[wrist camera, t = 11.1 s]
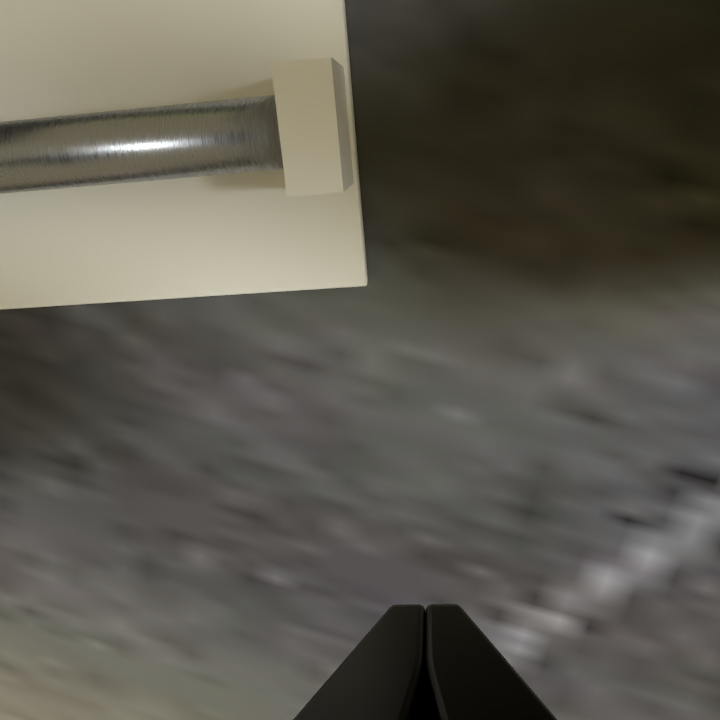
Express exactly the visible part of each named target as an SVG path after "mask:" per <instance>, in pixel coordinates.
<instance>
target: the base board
mask: <svg viewBox="0 0 720 720" xmlns="http://www.w3.org/2000/svg"><path fill="white" fill-rule="evenodd" d="M267 95H275V103H276V111H277V119H278V128H279V136H280V144H281V152H282V161H283V169H282V170H270V171H259V172H247V173H235V174H224V175H212V176H200V177H189V178H177V179H166V180H154V181H142V182H131V183H119V184H107V185H96V186H84V187H72V188H61V189H49V190H37V191H26V192H14V193H2V194H0V309H15V308H31V307H46V306H62V305H77V304H93V303H109V302H124V301H140V300H155V299H171V298H186V297H202V296H217V295H233V294H248V293H264V292H279V291H295V290H310V289H326V288H341V287H357V286H366V285H367V282H368V277H367V265H366V253H365V241H364V229H363V217H362V205H361V193H360V181H359V169H358V157H357V145H356V133H355V121H354V109H353V97H352V85H351V73H350V61H349V48H348V36H347V24H346V12H345V0H0V122H5V121H15V120H25V119H35V118H45V117H55V116H65V115H75V114H85V113H96V112H106V111H116V110H126V109H136V108H146V107H156V106H166V105H176V104H186V103H197V102H207V101H217V100H227V99H237V98H247V97H257V96H267Z"/></svg>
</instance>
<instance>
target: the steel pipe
mask: <svg viewBox="0 0 720 720" xmlns="http://www.w3.org/2000/svg"><path fill="white" fill-rule="evenodd" d="M282 169H283V161H282V152H281V144H280V136H279V128H278V119H277V111H276V103H275V95H267V96H257V97H247V98H237V99H227V100H217V101H207V102H197V103H186V104H176V105H166V106H156V107H146V108H136V109H126V110H116V111H106V112H96V113H85V114H75V115H65V116H55V117H45V118H35V119H25V120H15V121H5V122H0V194H2V193H14V192H26V191H37V190H49V189H61V188H72V187H84V186H96V185H107V184H119V183H131V182H142V181H154V180H166V179H177V178H189V177H200V176H212V175H224V174H235V173H247V172H259V171H270V170H282Z"/></svg>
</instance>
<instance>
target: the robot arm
mask: <svg viewBox="0 0 720 720" xmlns="http://www.w3.org/2000/svg"><path fill="white" fill-rule="evenodd" d="M293 720H557V719H556V718H555V716H554V715H553V714H552V713H551V712H550V711H549V709H548V708H547V707H546V706H545V705H544V704H543V702H542V701H541V700H540V699H539V698H538V697H537V695H536V694H535V693H534V692H533V691H532V690H531V688H530V687H529V686H528V685H527V684H526V683H525V681H524V680H523V679H522V678H521V677H520V676H519V674H518V673H517V672H516V671H515V670H514V669H513V667H512V666H511V665H510V664H509V663H508V662H507V660H506V659H505V658H504V657H503V656H502V655H501V653H500V652H499V651H498V650H497V649H496V648H495V646H494V645H493V644H492V643H491V642H490V641H489V639H488V638H487V637H486V636H485V635H484V634H483V632H482V631H481V630H480V629H479V628H478V627H477V625H476V624H475V623H474V622H473V621H472V620H471V618H470V617H469V616H468V615H467V614H466V613H465V611H464V610H463V609H462V608H461V607H460V606H459V605H457V604H431V605H429V606H427V608H426V613H425V609H424V607H423V606H422V605H393V606H392V607H390V608H389V609H388V610H387V612H386V613H385V614H384V615H383V616H382V617H381V619H380V620H379V621H378V622H377V623H376V624H375V626H374V627H373V628H372V629H371V630H370V631H369V632H368V634H367V635H366V636H365V637H364V638H363V639H362V641H361V642H360V643H359V644H358V645H357V646H356V648H355V649H354V650H353V651H352V652H351V653H350V655H349V656H348V657H347V658H346V659H345V660H344V661H343V663H342V664H341V665H340V666H339V667H338V668H337V670H336V671H335V672H334V673H333V674H332V675H331V677H330V678H329V679H328V680H327V681H326V682H325V683H324V685H323V686H322V687H321V688H320V689H319V690H318V692H317V693H316V694H315V695H314V696H313V697H312V699H311V700H310V701H309V702H308V703H307V704H306V705H305V707H304V708H303V709H302V710H301V711H300V712H299V714H298V715H297V716H296V717H295V718H294V719H293Z"/></svg>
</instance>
